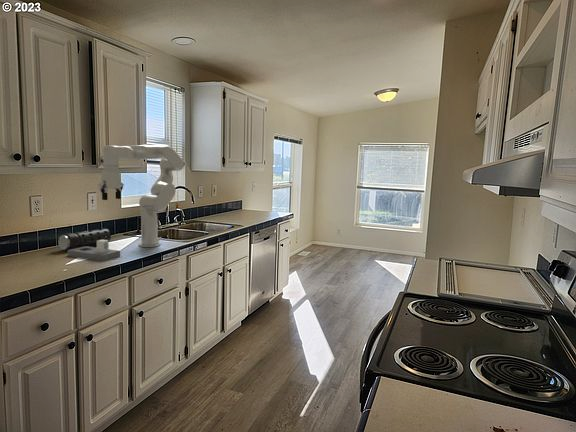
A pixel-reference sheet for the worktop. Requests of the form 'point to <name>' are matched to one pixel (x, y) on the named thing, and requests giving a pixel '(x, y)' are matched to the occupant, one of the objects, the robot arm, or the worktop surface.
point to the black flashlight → (83, 239)
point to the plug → (102, 246)
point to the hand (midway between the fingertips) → (111, 199)
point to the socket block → (93, 253)
